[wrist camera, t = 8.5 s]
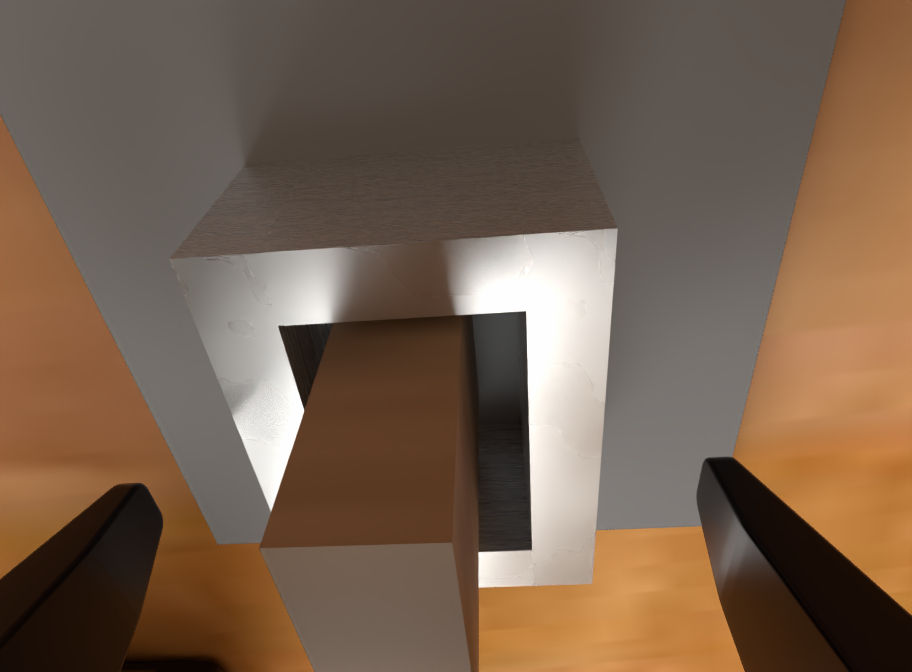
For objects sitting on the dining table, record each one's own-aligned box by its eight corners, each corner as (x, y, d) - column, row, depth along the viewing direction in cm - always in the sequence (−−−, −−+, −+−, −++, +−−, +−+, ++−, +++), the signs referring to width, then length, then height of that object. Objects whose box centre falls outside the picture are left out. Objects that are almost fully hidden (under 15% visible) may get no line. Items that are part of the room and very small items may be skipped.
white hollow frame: (569, 456, 16) (591, 583, 13) (333, 467, 16) (303, 593, 13) (579, 138, 11) (617, 228, 8) (244, 164, 11) (168, 259, 8)
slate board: (706, 502, 18) (714, 525, 17) (226, 521, 19) (217, 544, 18) (842, -95, 10) (869, -93, 9) (-26, -8, 10) (-58, -1, 10)
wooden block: (478, 388, 14) (479, 720, 9) (392, 391, 14) (336, 721, 9) (464, 229, 12) (452, 542, 6) (362, 236, 12) (259, 548, 6)
